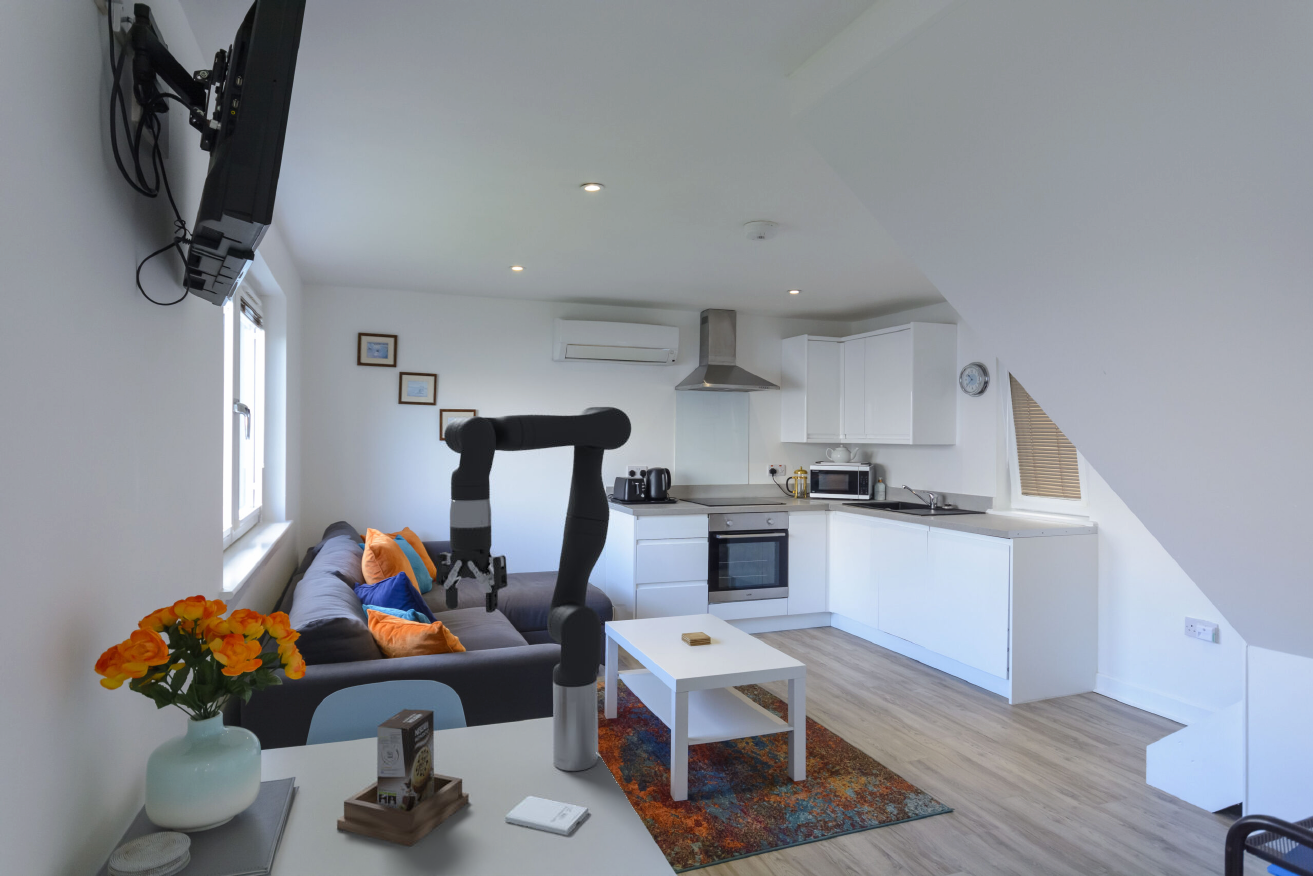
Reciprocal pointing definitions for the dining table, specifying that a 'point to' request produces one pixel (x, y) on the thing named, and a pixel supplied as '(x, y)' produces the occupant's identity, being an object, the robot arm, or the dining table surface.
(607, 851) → the dining table surface
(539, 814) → the external hard drive
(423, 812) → the wooden tray
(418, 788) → the coffee box
